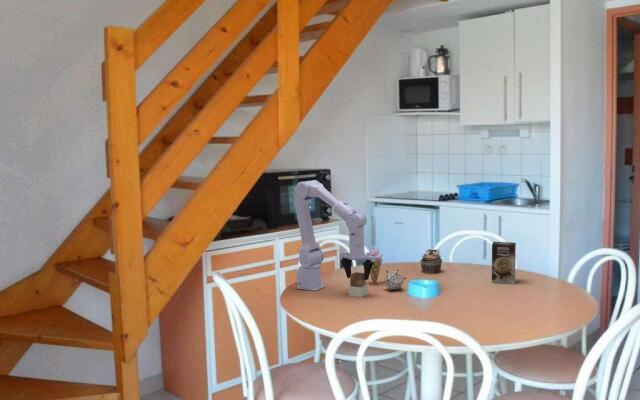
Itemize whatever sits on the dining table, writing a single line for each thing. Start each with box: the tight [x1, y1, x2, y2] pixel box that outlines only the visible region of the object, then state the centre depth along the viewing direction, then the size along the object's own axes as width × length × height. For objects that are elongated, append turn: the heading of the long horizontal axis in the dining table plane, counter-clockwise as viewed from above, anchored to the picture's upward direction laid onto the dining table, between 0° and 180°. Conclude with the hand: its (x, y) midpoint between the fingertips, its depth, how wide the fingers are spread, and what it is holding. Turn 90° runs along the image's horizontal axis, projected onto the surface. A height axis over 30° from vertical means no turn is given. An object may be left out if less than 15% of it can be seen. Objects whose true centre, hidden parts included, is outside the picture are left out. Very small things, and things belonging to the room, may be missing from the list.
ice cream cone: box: [366, 247, 383, 285], centre depth 240 cm, size 7×6×15 cm
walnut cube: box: [349, 271, 367, 287], centre depth 224 cm, size 4×4×4 cm
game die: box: [381, 268, 407, 292], centre depth 230 cm, size 9×8×10 cm
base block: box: [347, 283, 369, 298], centre depth 225 cm, size 6×6×4 cm
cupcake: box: [419, 248, 443, 275], centre depth 258 cm, size 10×10×10 cm
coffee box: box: [491, 241, 517, 285], centre depth 236 cm, size 9×6×16 cm
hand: (357, 278), depth 224 cm, fingers open, 7 cm apart
